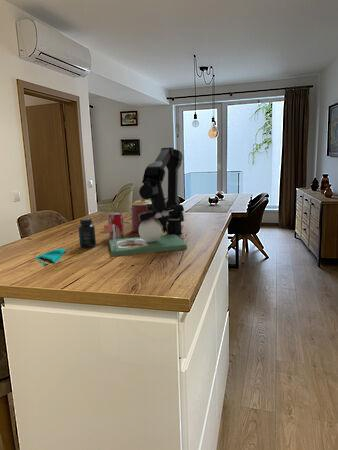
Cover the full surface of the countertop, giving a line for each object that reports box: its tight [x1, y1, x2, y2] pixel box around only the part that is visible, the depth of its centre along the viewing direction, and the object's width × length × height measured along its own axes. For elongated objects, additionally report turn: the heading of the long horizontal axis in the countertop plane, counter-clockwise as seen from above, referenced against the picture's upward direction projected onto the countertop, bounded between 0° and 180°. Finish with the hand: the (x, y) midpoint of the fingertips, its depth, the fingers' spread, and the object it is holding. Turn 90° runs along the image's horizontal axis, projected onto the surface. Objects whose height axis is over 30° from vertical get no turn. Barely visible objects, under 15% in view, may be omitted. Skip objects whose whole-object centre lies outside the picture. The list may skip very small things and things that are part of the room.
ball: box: [138, 219, 163, 242], centre depth 141 cm, size 10×10×10 cm
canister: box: [130, 196, 156, 234], centre depth 173 cm, size 13×13×18 cm
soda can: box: [107, 211, 125, 240], centre depth 158 cm, size 7×7×12 cm
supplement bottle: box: [78, 218, 97, 249], centre depth 144 cm, size 7×7×12 cm
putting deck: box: [103, 224, 188, 257], centre depth 141 cm, size 32×20×12 cm, turn 103°
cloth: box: [35, 247, 68, 266], centre depth 132 cm, size 26×14×2 cm, turn 172°
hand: (165, 232), depth 141 cm, fingers closed
